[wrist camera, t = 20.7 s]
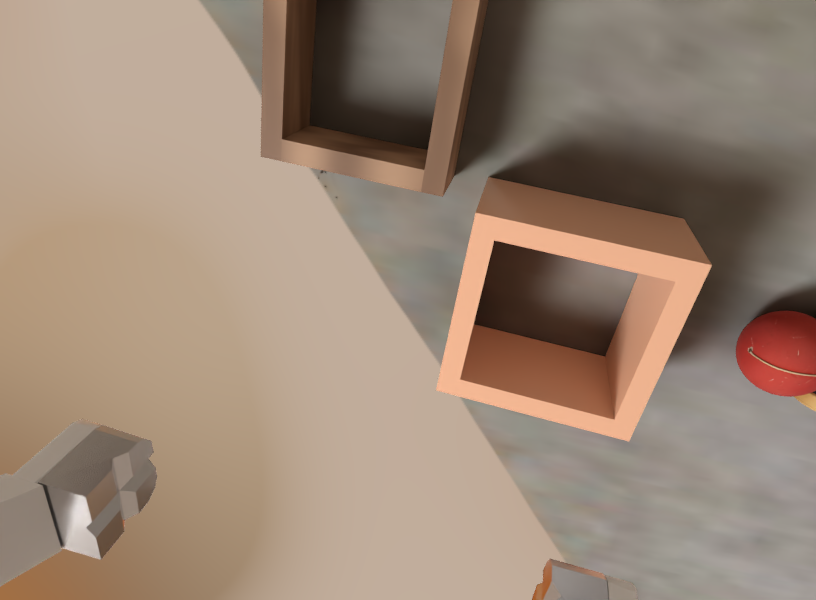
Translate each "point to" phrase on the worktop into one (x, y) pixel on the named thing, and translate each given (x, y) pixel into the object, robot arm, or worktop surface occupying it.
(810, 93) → the worktop surface
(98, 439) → the robot arm
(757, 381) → the kendama
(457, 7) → the block
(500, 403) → the stand
